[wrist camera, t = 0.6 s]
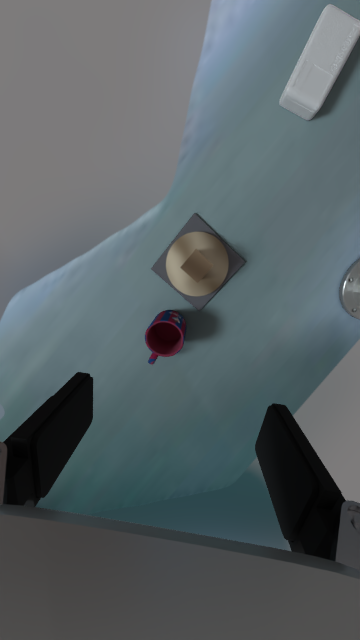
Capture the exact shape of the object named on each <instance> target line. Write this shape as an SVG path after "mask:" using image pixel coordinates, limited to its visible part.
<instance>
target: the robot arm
mask: <svg viewBox="0 0 360 640" xmlns="http://www.w3.org/2000/svg"><path fill="white" fill-rule="evenodd" d="M339 295H340V301H341V304H342V306H343V308H344V309H345V311H346V312H347V313H348V314H350V315H351V316H352V317H355V318H357V319H360V258H359V259H358V260H357V261H356V262H354V263H353V264H352V265H351V267H350V268H349V269H348V270H347V272H346V274H345V275H344V277H343V279H342V282H341V285H340V290H339ZM92 419H93V377H90V374H88V373H82V372H78V373H76V374H75V375H74V376H73V377H72V378H71V379H70V380H69V381H68V382H67V383H66V384H65V385H64V386H63V387H62V388H61V389H60V390H59V391H58V392H57V393H56V394H55V395H54V396H51V397H50V398H49V399H48V400H47V401H46V402H45V403H44V404H43V405H42V406H40V407H39V408H38V409H37V410H36V411H35V412H34V413H33V414H32V415H31V416H30V417H29V418H28V419H27V420H26V421H25V422H24V423H23V424H22V425H21V426H20V427H19V428H18V429H17V430H16V431H14V432H13V433H12V434H11V435H10V436H9V437H8V438H7V439H6V440H5V441H4V442H0V640H360V503H357V502H354V501H346V500H345V499H344V497H343V496H342V494H341V491H340V490H339V488H338V487H337V485H336V483H335V482H334V480H333V479H332V477H331V475H330V474H329V472H328V471H327V469H326V468H325V466H324V465H323V463H322V461H321V460H320V459H319V457H318V455H317V453H316V452H315V450H314V449H313V447H312V446H311V444H310V443H309V441H308V439H307V438H306V436H305V435H304V433H303V432H302V430H301V428H300V427H299V425H298V424H297V422H296V421H295V419H294V418H293V416H292V414H291V413H290V411H289V410H288V408H287V407H286V406H285V405H281V404H272V405H271V406H269V407H268V409H267V412H266V415H265V418H264V421H263V424H262V427H261V430H260V432H259V435H258V438H257V441H256V445H255V451H256V454H257V457H258V460H259V464H260V466H261V470H262V473H263V476H264V479H265V482H266V485H267V488H268V491H269V494H270V497H271V500H272V503H273V506H274V509H275V512H276V515H277V518H278V522H279V524H280V528H281V531H282V534H283V536H284V538H285V539H286V540H288V542H289V544H290V547H291V550H292V552H291V551H287V550H281V549H276V548H272V547H266V546H260V545H255V544H250V543H244V542H238V541H233V540H227V539H221V538H216V537H211V536H205V535H199V534H194V533H188V532H182V531H176V530H171V529H165V528H160V527H153V526H148V525H142V524H136V523H130V522H125V521H119V520H113V519H107V518H101V517H95V516H89V515H83V514H77V513H71V512H65V511H58V510H51V509H44V508H37V507H35V506H36V504H37V503H38V501H39V500H40V498H41V497H42V498H44V497H45V496H46V495H47V494H48V492H49V490H50V489H51V487H52V486H53V484H54V482H55V481H56V479H57V478H58V476H59V474H60V473H61V471H62V470H63V468H64V466H65V465H66V463H67V462H68V460H69V458H70V457H71V455H72V454H73V452H74V450H75V449H76V447H77V445H78V444H79V442H80V441H81V439H82V437H83V436H84V434H85V433H86V431H87V429H88V428H89V426H90V424H91V422H92Z"/></svg>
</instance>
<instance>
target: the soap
mask: <svg viewBox="0 0 360 640" xmlns="http://www.w3.org/2000/svg"><path fill="white" fill-rule="evenodd" d="M359 36H360V21H359V20H357V19H355V18H354V17H352V16H351V15H349V14H347V13H346V12H344V11H342V10H341V9H339V8H337V7H336V6H334V5H332V4H329V5H327V6H326V7H325V9H324V10H323V12H322V13H321V15H320V17H319V19H318V21H317V23H316V25H315V27H314V29H313V31H312V33H311V36H310V38H309V40H308V42H307V44H306V46H305V48H304V50H303V52H302V54H301V56H300V58H299V60H298V63H297V65H296V67H295V69H294V71H293V73H292V75H291V77H290V79H289V81H288V83H287V85H286V87H285V89H284V92H283V94H282V96H281V98H280V102H279V103H280V106H282V107H283V108H285V109H287V110H289V111H290V112H292V113H294V114H296V115H298V116H299V117H301V118H303V119H305V120H307V121H309V120H311V119H312V118H313V117H314V116H315V114H316V113H317V112H318V111H319V110H320V108H321V106H322V105H323V103H324V101H325V99H326V97H327V96H328V94H329V92H330V90H331V88H332V86H333V85H334V83H335V81H336V79H337V77H338V75H339V73H340V71H341V70H342V68H343V66H344V64H345V62H346V60H347V59H348V57H349V55H350V53H351V51H352V49H353V47H354V46H355V44H356V42H357V40H358V38H359Z"/></svg>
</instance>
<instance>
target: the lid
mask: <svg viewBox="0 0 360 640" xmlns="http://www.w3.org/2000/svg"><path fill="white" fill-rule="evenodd" d="M228 265H229V262H228V255H227V252H226V249H225V247H224V246H223V244H222V243H221V242H220V241H219V240H218V239H217V238H216V237H214V236H213V235H211V234H208V233H205V232H191V233H188V234H185V235H183V236H181V237H180V238H179V239H177V240H176V241H175V242H174V244H173V245H172V246H171V248H170V250H169V252H168V255H167V259H166V270H167V275H168V277H169V280H170V281H171V283H172V284H173V286H174V287H175V288H176V289H177V290H179V291H180V292H182V293H184V294H186V295H189V296H204V295H207V294H210V293H211V292H213V291H215V290H216V289H217V288H218V287H219V286H220V285H221V284H222V283H223V281H224V279H225V277H226V275H227V272H228Z"/></svg>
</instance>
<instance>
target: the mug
mask: <svg viewBox="0 0 360 640" xmlns="http://www.w3.org/2000/svg"><path fill="white" fill-rule="evenodd" d="M185 333H186V322H185V320H184V318H183V317H182V315H181V314H179V313H178V312H176V311H172V310H166V311H163V312H161V313H159V314H158V315H157V316H156V317H155V319H154V320H153V322H152V323H151V324H150V326H149V327H148V329H147V331H146V334H145V341H146V344H147V346H148V348H149V349H150V350H151V351H152V352H153V353H152V355H151V357H150V358H149V361H148V363H150V364H154V362H155V361H156V359H157V357H158V355H159V356H163V357H169V356H173V355H175V354H176V353H178V352H179V351H180V350H181V348H182V347H183V344H184V339H185Z"/></svg>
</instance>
